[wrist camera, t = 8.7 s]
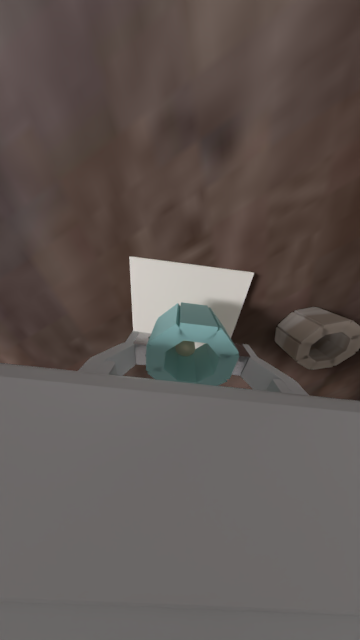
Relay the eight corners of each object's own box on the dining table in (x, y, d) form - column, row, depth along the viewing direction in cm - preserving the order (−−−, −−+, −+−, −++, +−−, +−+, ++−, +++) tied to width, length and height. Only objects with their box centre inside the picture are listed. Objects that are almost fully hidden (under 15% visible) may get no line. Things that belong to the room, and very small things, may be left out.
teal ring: (229, 308, 11) (250, 331, 7) (212, 361, 13) (222, 395, 10) (157, 299, 10) (146, 318, 7) (155, 355, 13) (145, 388, 10)
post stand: (248, 271, 13) (295, 282, 8) (219, 357, 19) (234, 400, 13) (133, 256, 13) (97, 256, 7) (137, 349, 18) (117, 389, 13)
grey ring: (332, 303, 15) (374, 316, 12) (320, 344, 17) (351, 364, 14) (277, 313, 15) (302, 328, 12) (273, 351, 18) (293, 372, 15)
